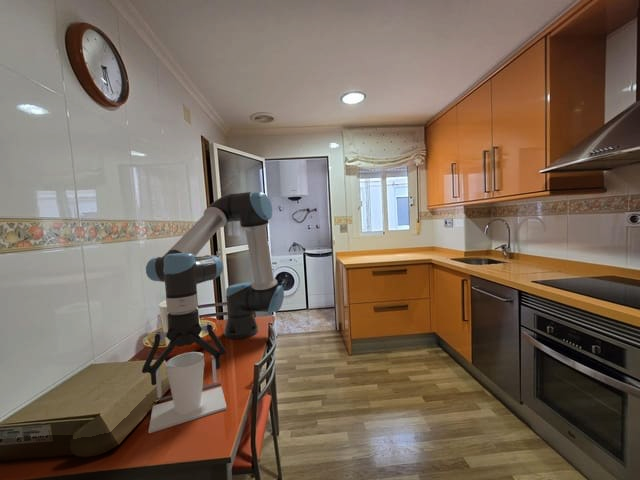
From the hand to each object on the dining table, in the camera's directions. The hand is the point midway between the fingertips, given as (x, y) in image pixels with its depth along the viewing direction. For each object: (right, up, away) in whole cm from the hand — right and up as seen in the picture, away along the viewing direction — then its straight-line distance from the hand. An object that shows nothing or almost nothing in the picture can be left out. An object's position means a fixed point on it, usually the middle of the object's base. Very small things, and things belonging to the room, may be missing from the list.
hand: (188, 387), depth 75 cm
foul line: (-4, -6, +8) cm, 10 cm away
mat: (0, -6, 0) cm, 6 cm away
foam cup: (0, -5, 0) cm, 5 cm away
